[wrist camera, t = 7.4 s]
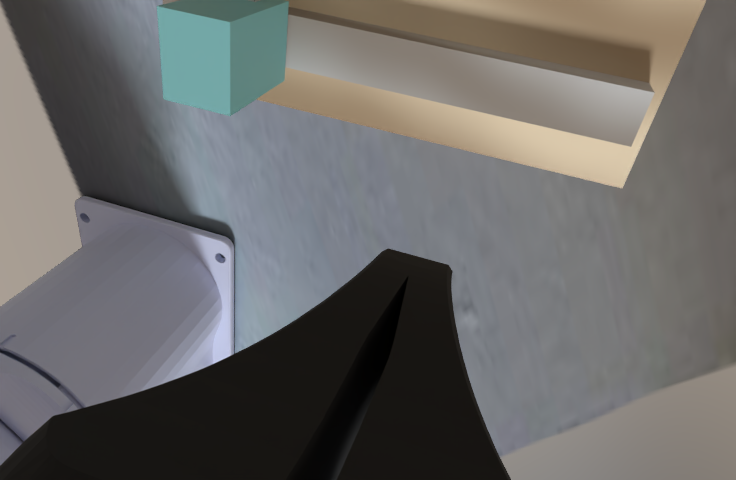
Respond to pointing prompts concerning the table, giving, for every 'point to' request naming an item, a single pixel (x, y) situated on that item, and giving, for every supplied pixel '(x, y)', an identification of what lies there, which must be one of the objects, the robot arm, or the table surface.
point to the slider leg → (221, 51)
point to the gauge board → (492, 74)
